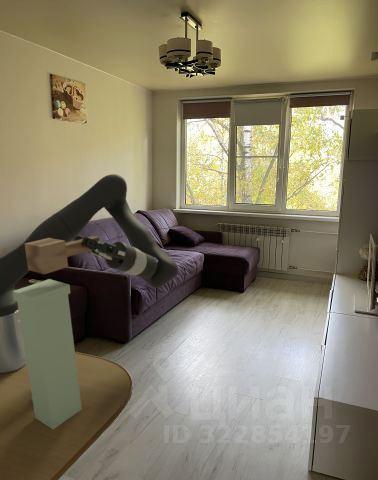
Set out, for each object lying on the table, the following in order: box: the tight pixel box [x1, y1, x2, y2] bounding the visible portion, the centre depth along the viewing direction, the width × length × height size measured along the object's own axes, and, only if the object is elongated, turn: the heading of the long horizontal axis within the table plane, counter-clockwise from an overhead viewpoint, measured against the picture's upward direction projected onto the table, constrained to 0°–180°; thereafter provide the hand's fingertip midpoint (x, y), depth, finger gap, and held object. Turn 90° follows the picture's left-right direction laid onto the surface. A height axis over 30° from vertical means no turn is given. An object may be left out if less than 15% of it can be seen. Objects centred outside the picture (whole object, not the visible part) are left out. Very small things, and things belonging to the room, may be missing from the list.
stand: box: [13, 278, 83, 430], centre depth 85 cm, size 8×9×32 cm
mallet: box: [25, 235, 101, 275], centre depth 86 cm, size 6×17×6 cm, turn 144°
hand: (79, 240), depth 88 cm, fingers closed on mallet, 2 cm apart
